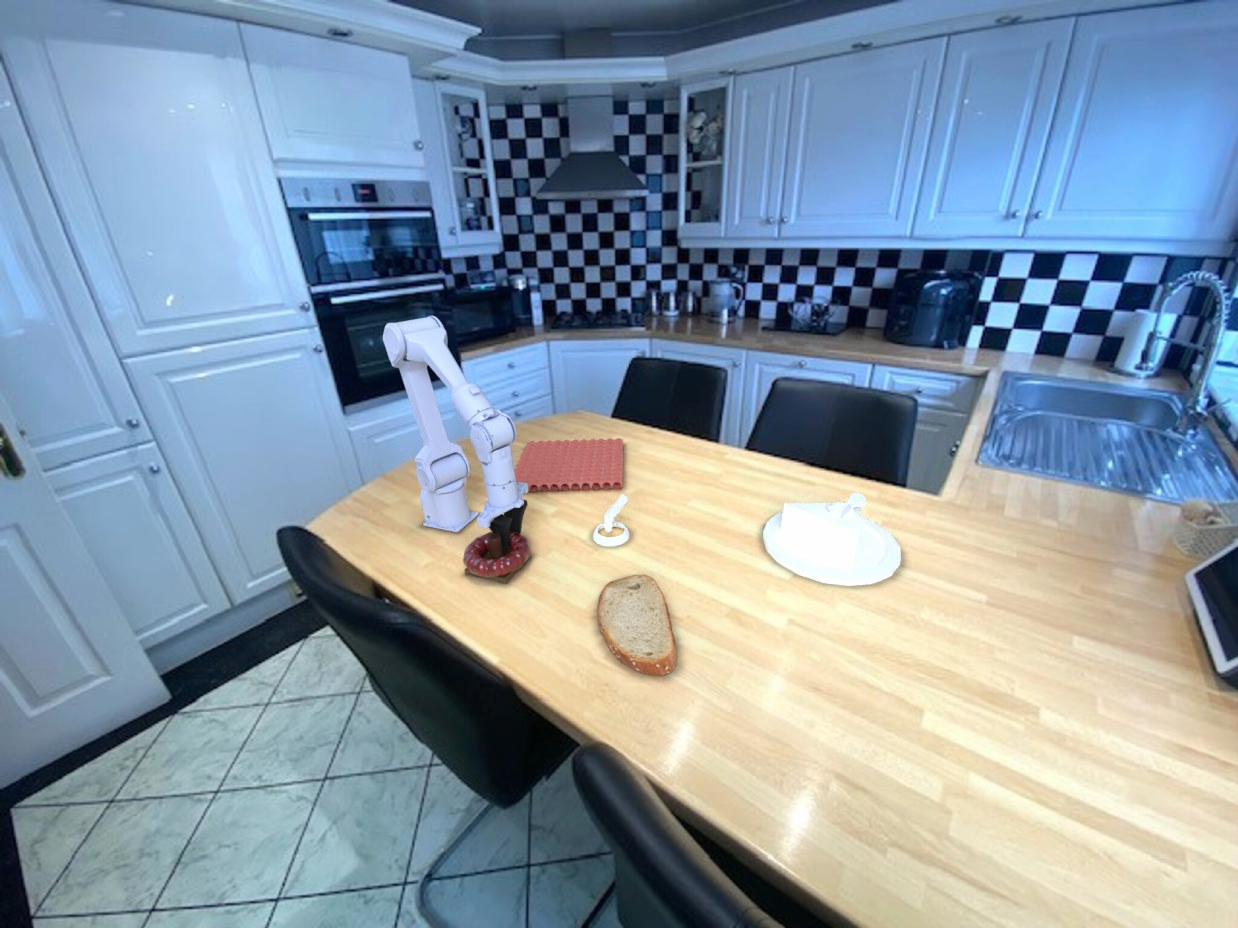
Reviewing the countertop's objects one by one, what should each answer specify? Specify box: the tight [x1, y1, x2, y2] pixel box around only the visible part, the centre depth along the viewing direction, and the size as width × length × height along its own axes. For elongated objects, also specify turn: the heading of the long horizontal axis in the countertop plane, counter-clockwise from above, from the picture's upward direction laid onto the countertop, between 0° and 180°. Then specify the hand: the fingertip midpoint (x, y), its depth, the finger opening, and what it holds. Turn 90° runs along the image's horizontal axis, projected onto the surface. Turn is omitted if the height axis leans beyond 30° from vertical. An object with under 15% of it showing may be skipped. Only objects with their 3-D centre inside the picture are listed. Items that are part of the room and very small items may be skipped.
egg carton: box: [514, 437, 624, 493], centre depth 136 cm, size 28×28×2 cm
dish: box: [762, 492, 902, 587], centre depth 97 cm, size 25×25×11 cm
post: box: [464, 533, 532, 585], centre depth 96 cm, size 9×9×7 cm
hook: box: [592, 493, 631, 547], centre depth 103 cm, size 8×12×7 cm
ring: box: [462, 531, 531, 577], centre depth 96 cm, size 12×12×3 cm
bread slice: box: [596, 574, 678, 677], centre depth 81 cm, size 18×18×4 cm
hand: (510, 539), depth 100 cm, fingers closed on ring, 3 cm apart
